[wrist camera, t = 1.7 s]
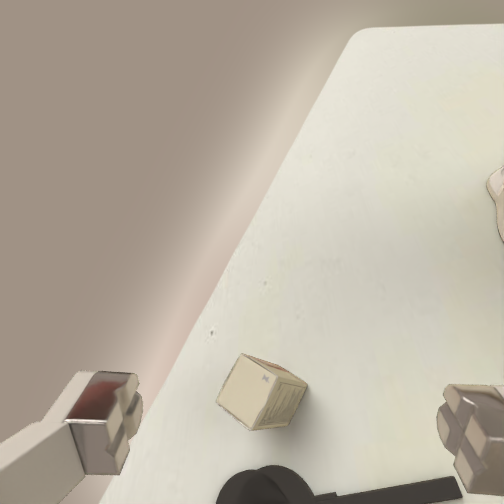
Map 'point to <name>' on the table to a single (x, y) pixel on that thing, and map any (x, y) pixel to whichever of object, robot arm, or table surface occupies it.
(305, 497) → the black frying pan
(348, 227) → the table surface
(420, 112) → the table surface
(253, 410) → the medicine box
